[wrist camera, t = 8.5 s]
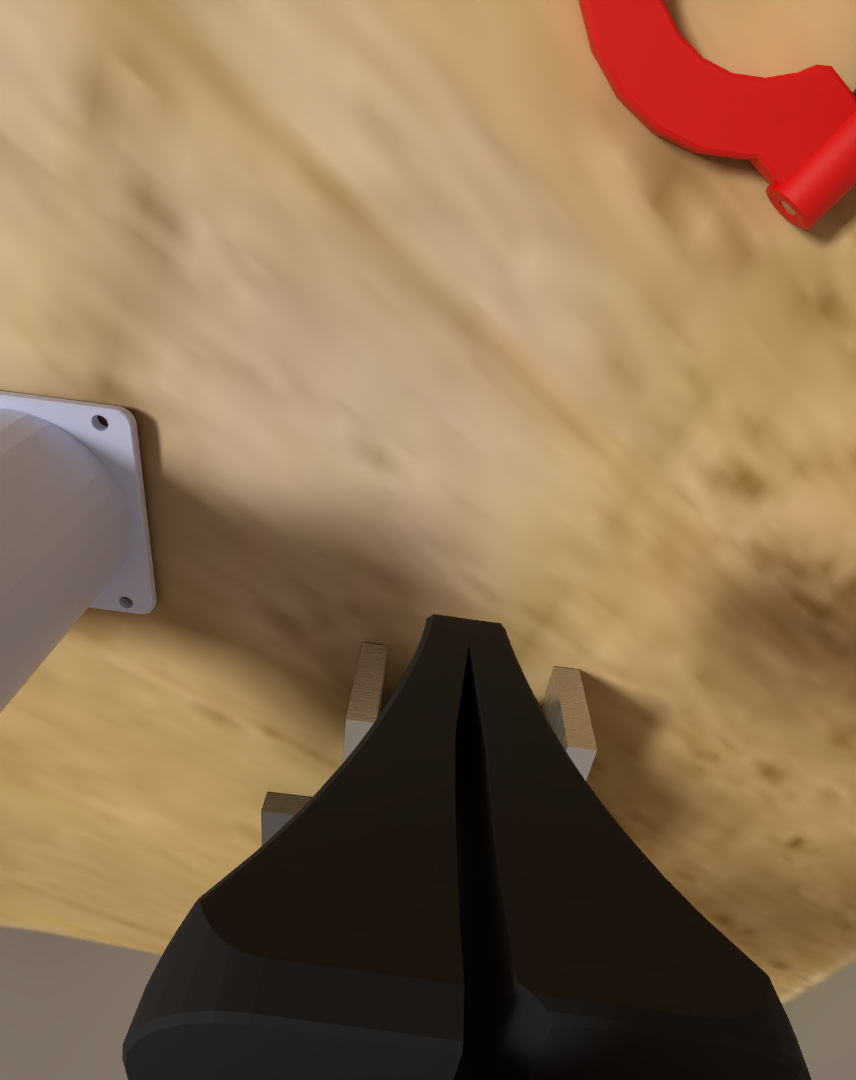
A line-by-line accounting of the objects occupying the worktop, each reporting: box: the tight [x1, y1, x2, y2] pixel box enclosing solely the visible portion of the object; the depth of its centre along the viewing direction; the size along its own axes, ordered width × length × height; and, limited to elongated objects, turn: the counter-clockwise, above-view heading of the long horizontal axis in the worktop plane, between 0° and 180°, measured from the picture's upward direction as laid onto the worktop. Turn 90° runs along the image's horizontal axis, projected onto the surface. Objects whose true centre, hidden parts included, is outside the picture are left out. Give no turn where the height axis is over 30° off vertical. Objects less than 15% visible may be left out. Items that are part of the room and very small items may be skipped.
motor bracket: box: [261, 643, 597, 846], centre depth 27 cm, size 16×16×6 cm
